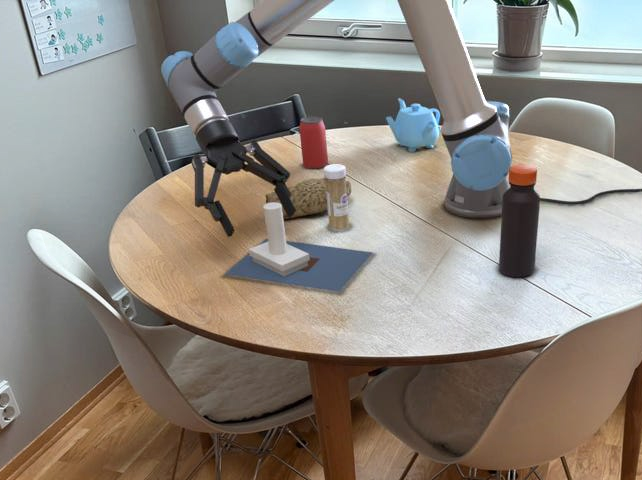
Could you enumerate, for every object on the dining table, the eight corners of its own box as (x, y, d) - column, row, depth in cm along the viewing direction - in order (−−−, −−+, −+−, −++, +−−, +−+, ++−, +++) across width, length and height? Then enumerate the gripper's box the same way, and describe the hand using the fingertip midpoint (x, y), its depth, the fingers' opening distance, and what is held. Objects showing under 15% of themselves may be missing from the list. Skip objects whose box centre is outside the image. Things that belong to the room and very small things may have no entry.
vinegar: (507, 259, 143) (513, 160, 132) (539, 267, 140) (548, 166, 129) (492, 273, 138) (497, 171, 127) (525, 281, 135) (533, 178, 124)
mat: (373, 254, 146) (373, 252, 145) (339, 294, 132) (339, 291, 132) (266, 240, 152) (266, 238, 152) (224, 276, 139) (224, 274, 139)
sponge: (275, 232, 158) (361, 203, 160) (262, 198, 155) (350, 169, 157) (272, 220, 170) (352, 193, 172) (260, 188, 167) (342, 161, 169)
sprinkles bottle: (345, 232, 155) (340, 171, 147) (325, 230, 156) (319, 169, 148) (352, 224, 158) (348, 164, 151) (333, 222, 160) (328, 162, 152)
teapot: (381, 150, 199) (379, 109, 193) (399, 136, 210) (398, 96, 204) (433, 156, 195) (432, 114, 188) (449, 141, 205) (450, 100, 199)
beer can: (333, 163, 191) (329, 117, 185) (317, 171, 187) (313, 124, 180) (314, 159, 194) (309, 114, 187) (298, 166, 190) (292, 120, 183)
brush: (277, 250, 147) (269, 193, 140) (310, 265, 141) (304, 207, 134) (250, 261, 143) (241, 203, 136) (283, 277, 137) (275, 218, 130)
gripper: (262, 126, 151) (310, 215, 150) (148, 154, 138) (200, 251, 137) (272, 105, 145) (322, 197, 144) (154, 132, 131) (208, 233, 130)
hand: (262, 223), depth 140 cm, fingers open, 13 cm apart
